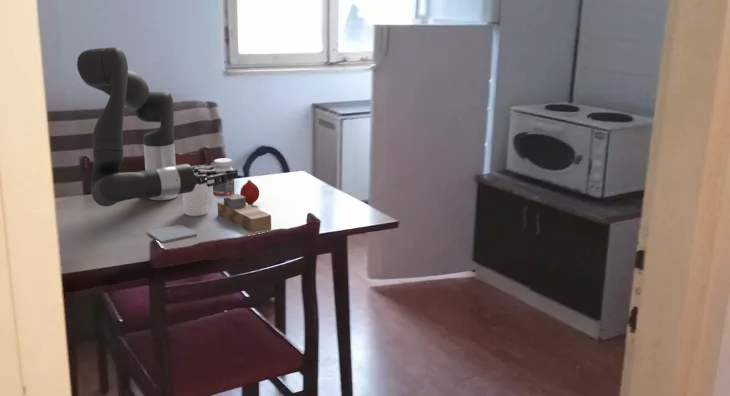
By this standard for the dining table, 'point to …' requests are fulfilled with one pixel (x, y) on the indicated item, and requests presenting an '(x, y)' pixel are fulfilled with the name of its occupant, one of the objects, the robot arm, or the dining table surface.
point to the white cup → (196, 201)
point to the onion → (250, 192)
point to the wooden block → (244, 214)
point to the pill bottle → (222, 189)
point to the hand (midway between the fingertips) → (231, 171)
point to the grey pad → (171, 233)
